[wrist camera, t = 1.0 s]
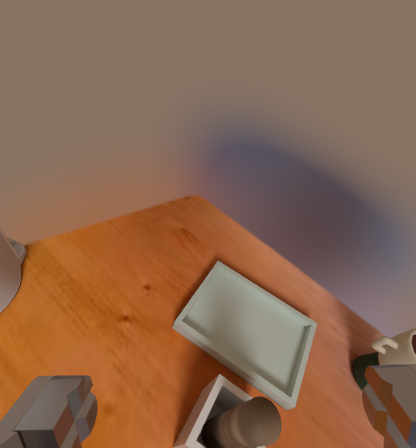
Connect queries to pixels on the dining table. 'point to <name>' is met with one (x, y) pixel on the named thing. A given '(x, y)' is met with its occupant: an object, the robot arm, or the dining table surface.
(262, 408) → the walnut pin
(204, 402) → the white square sleeve
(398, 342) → the character mug
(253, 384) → the sage tray
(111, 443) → the dining table surface
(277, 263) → the dining table surface
